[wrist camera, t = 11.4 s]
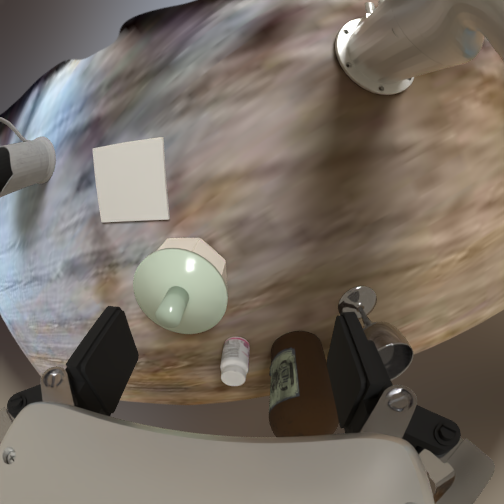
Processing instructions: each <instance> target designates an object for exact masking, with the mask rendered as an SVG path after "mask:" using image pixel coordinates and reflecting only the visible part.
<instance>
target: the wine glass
mask: <svg viewBox="0 0 504 504" xmlns="http://www.w3.org/2000/svg"><path fill="white" fill-rule="evenodd" d="M376 300H377V298H376V294H375V292H374V290H373V289H371V288H370V287H367V286H357V287H354V288H352V289H350V290H348V291H347V292H346V293H345V294H344V295H343V296H342V297H341V299H340V301H339V305H338V309H339V313H340V314H341V313H342V312H355V313H356V315H357V317H358V319H361V318H362V320H363V324H364V326H363V330H364V333H365V335H366V337H367V339H368V340H372V341H373V342H374V343H375V345H376V348H377V350H378V352H379V354H380V357H381V359H382V361H383V364H384V366H385V368H386V371H387V373H388V375H389V378H390V380H393V379H395V378H397V377H398V376H399V375H400V374H402V373H403V372H404V371H405V370H406V369H407V368H408V367H409V365H410V364H411V362H412V359H413V351H412V348H411V346H410V344H409V343H408V341H407V340H406V338H405V337H404V336H403V334H402V333H401V332H400V331H399V330H398V329H397V328H396V327H395V326H393V325H391V324H390V323H387V322H372V321H371V320H370V319H369V318H368V317H367V315H368V314H369V313H370V312H371V311H372V310H373V309H374V307H375V305H376Z"/></svg>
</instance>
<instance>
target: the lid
mask: <svg viewBox="0 0 504 504" xmlns="http://www.w3.org/2000/svg"><path fill="white" fill-rule="evenodd" d="M133 289H134V294H135V297H136V300H137V302H138V304H139V306H140V308H141V309H142V311H143V312H144V313H145V314H146V315H147V316H148V317H149V318H150V319H151V320H152V321H153V322H155V323H156V324H158V325H159V326H161V327H163V328H165V329H167V330H170V331H173V332H176V333H182V334H196V333H201V332H204V331H207V330H209V329H211V328H212V327H214V326H215V325H216V324H217V323H218V322H219V321H220V320H221V319H222V317H223V315H224V313H225V311H226V307H227V302H228V292H227V287H226V284H225V281H224V279H223V277H222V275H221V274H220V272H219V271H218V270H217V269H216V267H215V266H214V265H213V264H212V263H211V262H209V261H208V260H207V259H206V258H204V257H202V256H201V255H199V254H197V253H195V252H192V251H189V250H186V249H181V248H165V249H160V250H158V251H155V252H153V253H151V254H150V255H148V256H147V257H146V258H145V259H144V260H143V261H142V262H141V263H140V265H139V266H138V268H137V270H136V272H135V275H134V280H133Z"/></svg>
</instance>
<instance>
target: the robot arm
mask: <svg viewBox="0 0 504 504" xmlns="http://www.w3.org/2000/svg"><path fill="white" fill-rule="evenodd" d="M365 8H366V12H367V14H366V15H365V16H364V17H363V18H359V19H355V20H352V21H350V22H348V23H346V24H345V25H344V26H343V27H342V28H341V29H340V31H339V32H338V35H337V37H336V42H335V51H336V55H337V59H338V61H339V63H340V65H341V67H342V68H343V70H344V71H345V73H346V74H347V75H348V76H349V77H350V78H351V79H352V80H353V81H354V82H355V83H356V84H358V85H359V86H360V87H362V88H364V89H365V90H368V91H370V92H372V93H376V94H380V95H392V94H397V93H400V92H402V91H404V90H406V89H407V88H408V87H409V86H410V85H411V83H412V82H413V80H414V77H415V76H419V75H422V74H426V73H429V72H433V71H437V70H441V69H444V68H449V67H453V66H456V65H461V64H464V63H467V62H469V61H471V60H473V59H474V58H475V57H476V56H477V55H478V53H479V52H480V50H481V48H482V45H483V42H484V38H485V37H486V39H487V40H488V41H489V42H490V44H491V45H492V46H493V48H494V49H495V51H496V52H497V53H498V54H499V55H500V57H501V59H502V60H503V62H504V0H379V1H378V7H377V8H376V9H375V6H374V4H373V3H371V2H366V3H365ZM345 33H346V34H345ZM346 65H348V67H347V66H346ZM379 88H380V90H379ZM137 361H138V351H137V348H136V346H135V343H134V340H133V337H132V334H131V331H130V328H129V325H128V322H127V319H126V316H125V313H124V311H122V310H121V308H120V307H113V306H108V307H107V308H106V309H105V310H104V312H103V313H102V314H101V316H100V317H99V318H98V320H97V321H96V322H95V324H94V325H93V326H92V328H91V329H90V330H89V332H88V333H87V335H86V336H85V337H84V339H83V340H82V342H81V343H80V344H79V346H78V347H77V349H76V350H75V351H74V353H73V354H72V356H71V357H70V359H69V360H68V362H67V363H66V366H67V368H66V369H64V368H62V367H58V366H56V367H51V368H49V369H48V370H46V371H45V372H44V373H43V375H42V377H41V384H40V385H38V386H35V387H32V388H29V389H27V390H24V391H21V392H19V393H16V394H14V395H13V396H12V397H11V398H10V399H9V401H8V404H7V409H6V408H5V407H4V408H2V409H1V410H0V504H473V503H474V502H475V500H476V499H477V498H478V496H479V495H480V494H481V492H482V491H483V489H484V488H485V486H486V485H487V483H488V481H489V480H490V479H491V477H492V475H493V473H494V463H493V461H492V460H491V459H490V458H489V457H488V456H487V455H486V454H485V453H483V452H482V451H481V450H480V449H479V448H477V447H476V446H475V445H474V444H473V443H471V442H470V441H469V440H468V439H466V438H465V439H464V440H463V439H462V438H461V437H460V436H461V435H460V429H459V427H458V426H457V424H456V423H454V422H453V421H451V420H449V419H447V418H444V417H442V416H440V415H438V414H435V413H433V412H431V411H429V410H427V409H424V408H422V407H420V406H418V405H417V398H416V395H415V394H414V392H413V391H412V390H411V389H409V388H407V387H406V386H402V385H394V386H393V385H392V383H391V380H390V378H389V375H388V373H387V371H386V368H385V366H384V364H383V361H382V359H381V357H380V354H379V352H378V350H377V348H376V345H375V343H374V342H373V341H372V340H368V339H367V337H366V335H365V333H364V330H363V328H362V326H361V324H360V322H359V319H358V317H357V315H356V313H355V312H342V313H341V314H340V316H337V317H336V321H335V326H334V331H333V336H332V340H331V345H330V349H329V354H328V358H327V369H328V373H329V378H330V382H331V387H332V391H333V396H334V400H335V405H336V410H337V415H338V420H339V424H340V427H341V428H344V429H345V433H343V434H329V435H317V436H301V437H235V436H219V435H208V434H198V433H189V432H182V431H176V430H170V429H164V428H158V427H153V426H148V425H143V424H138V423H134V422H130V421H125V420H121V419H117V418H114V417H110V415H111V413H113V412H114V411H115V409H116V407H117V405H118V402H119V400H120V398H121V396H122V393H123V391H124V389H125V387H126V384H127V382H128V380H129V378H130V376H131V374H132V371H133V369H134V367H135V365H136V363H137ZM426 471H427V472H428V473H429V474H430V475H429V477H430V478H431V479H433V481H434V482H435V484H436V491H435V494H434V495H433V494H432V490H431V487H430V483H429V479H428V476H427V473H426Z"/></svg>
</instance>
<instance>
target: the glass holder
mask: <svg viewBox="0 0 504 504" xmlns="http://www.w3.org/2000/svg"><path fill="white" fill-rule="evenodd" d="M0 122H3V123H4V124H6V125H8V126H9V127H10V128H11V129H12V130H13V131H14V132H15V134H16V135H17V136H18V137H19V138H20V139H21V140H22V141H23V142H20V143H15V144H10V145H5V146H1V147H0V197H2V196H5V195H7V194H9V193H12V192H15V191H17V190H20V189H22V188H25V187H28V186H31V185H33V184H36V183H37V184H44V183H46V182H47V181H48V180H49V179H50V178H51V176H52V174H53V172H54V169H55V162H56V156H55V150H54V147H53V144H52V143H51V141H50V140H49V139H48V138H46V137H38V138H36V139H35V140H32V141H30V140H26V139H25V138H24V137H23V136H22V135H21V134H20V133H19V131H18V130H17V129H16V128H15V127H14V126H13V125H12V124H11V123H10V122H9V121H7V120H5V119H3V118H1V117H0Z"/></svg>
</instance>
